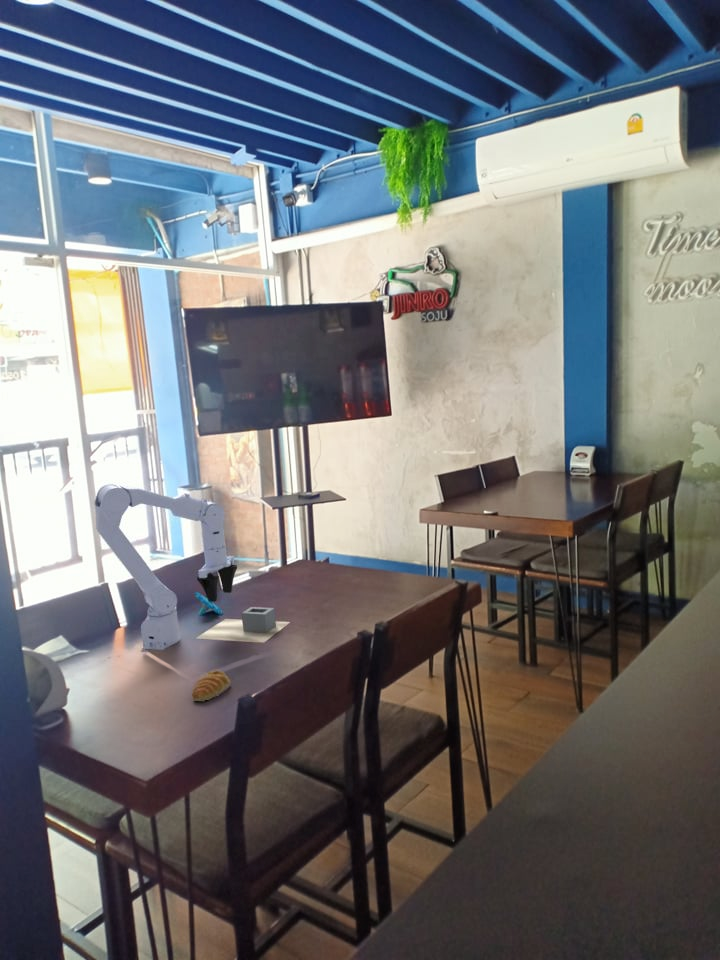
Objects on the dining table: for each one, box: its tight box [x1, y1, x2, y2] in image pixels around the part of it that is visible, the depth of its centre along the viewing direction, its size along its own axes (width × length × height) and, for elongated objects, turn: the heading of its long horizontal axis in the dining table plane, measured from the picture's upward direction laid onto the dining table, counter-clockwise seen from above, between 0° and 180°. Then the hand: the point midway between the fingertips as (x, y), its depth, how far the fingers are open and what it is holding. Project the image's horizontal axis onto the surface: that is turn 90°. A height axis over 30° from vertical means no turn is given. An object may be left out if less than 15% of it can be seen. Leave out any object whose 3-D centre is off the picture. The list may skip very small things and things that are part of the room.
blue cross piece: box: [194, 591, 224, 616], centre depth 211 cm, size 11×6×10 cm
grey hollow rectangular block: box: [241, 606, 276, 633], centre depth 194 cm, size 5×7×5 cm
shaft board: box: [195, 618, 291, 644], centre depth 194 cm, size 15×20×1 cm
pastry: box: [192, 669, 232, 702], centre depth 158 cm, size 9×7×4 cm
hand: (220, 596), depth 197 cm, fingers open, 7 cm apart
